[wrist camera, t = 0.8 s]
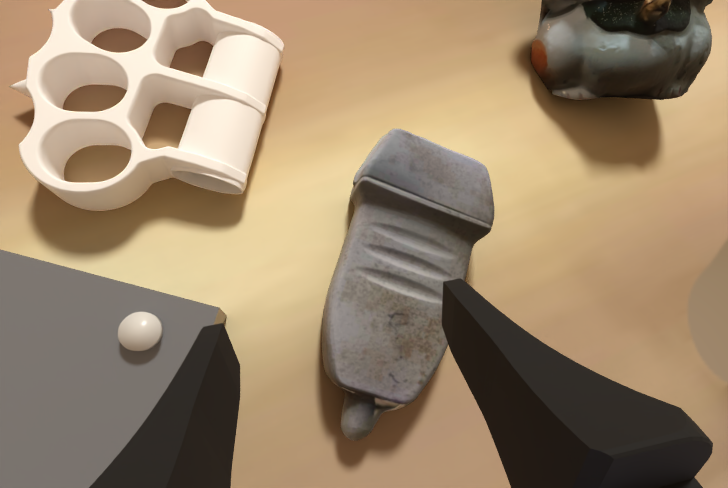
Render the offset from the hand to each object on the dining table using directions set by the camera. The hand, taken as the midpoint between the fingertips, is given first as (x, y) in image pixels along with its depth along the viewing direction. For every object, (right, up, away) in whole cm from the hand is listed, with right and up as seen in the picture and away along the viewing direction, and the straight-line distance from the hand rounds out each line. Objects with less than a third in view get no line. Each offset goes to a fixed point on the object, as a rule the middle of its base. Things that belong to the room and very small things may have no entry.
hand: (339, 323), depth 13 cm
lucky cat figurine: (+21, +21, +26) cm, 39 cm away
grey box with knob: (-15, -5, +10) cm, 18 cm away
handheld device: (+3, 0, +16) cm, 16 cm away
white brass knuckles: (-13, +13, +15) cm, 24 cm away
